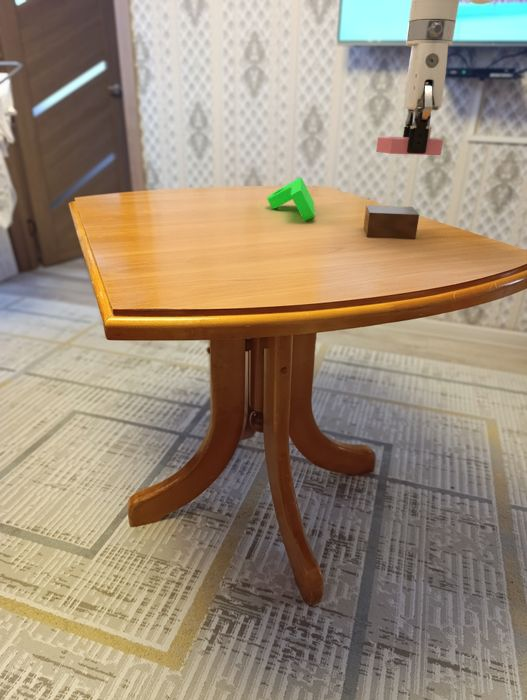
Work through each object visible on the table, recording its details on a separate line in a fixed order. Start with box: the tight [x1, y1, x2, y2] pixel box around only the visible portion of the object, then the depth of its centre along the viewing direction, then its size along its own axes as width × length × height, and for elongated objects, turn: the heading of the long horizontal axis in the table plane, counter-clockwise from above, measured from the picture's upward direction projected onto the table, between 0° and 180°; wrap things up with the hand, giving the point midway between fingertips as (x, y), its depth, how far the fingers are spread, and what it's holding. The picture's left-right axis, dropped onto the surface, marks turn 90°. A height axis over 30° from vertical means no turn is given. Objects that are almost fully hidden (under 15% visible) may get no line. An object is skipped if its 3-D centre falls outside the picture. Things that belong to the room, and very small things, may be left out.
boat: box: [375, 126, 444, 156], centre depth 92 cm, size 11×5×4 cm, turn 86°
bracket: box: [266, 176, 316, 222], centre depth 123 cm, size 20×10×7 cm
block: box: [363, 204, 420, 240], centre depth 108 cm, size 10×8×5 cm
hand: (413, 150), depth 93 cm, fingers closed on boat, 5 cm apart
